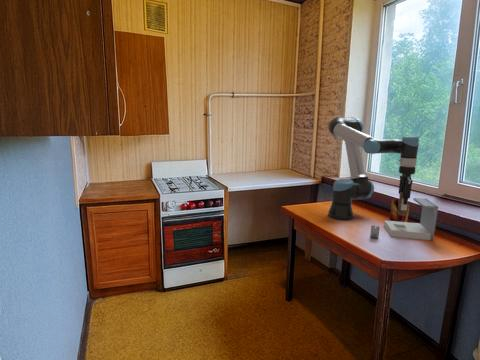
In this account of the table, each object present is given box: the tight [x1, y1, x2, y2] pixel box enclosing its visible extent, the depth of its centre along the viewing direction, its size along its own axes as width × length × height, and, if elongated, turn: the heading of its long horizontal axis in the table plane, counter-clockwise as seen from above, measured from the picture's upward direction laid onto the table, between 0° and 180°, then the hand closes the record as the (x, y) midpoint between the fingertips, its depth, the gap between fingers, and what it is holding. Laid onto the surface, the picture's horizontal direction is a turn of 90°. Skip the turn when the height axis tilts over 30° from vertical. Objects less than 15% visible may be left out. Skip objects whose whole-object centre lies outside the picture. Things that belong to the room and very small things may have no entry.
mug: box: [389, 199, 411, 222], centre depth 180 cm, size 10×14×12 cm
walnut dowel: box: [398, 192, 407, 216], centre depth 160 cm, size 4×4×12 cm
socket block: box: [383, 197, 439, 241], centre depth 161 cm, size 16×20×18 cm
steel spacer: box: [369, 225, 380, 240], centre depth 155 cm, size 4×4×6 cm
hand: (402, 208), depth 161 cm, fingers closed on walnut dowel, 4 cm apart
